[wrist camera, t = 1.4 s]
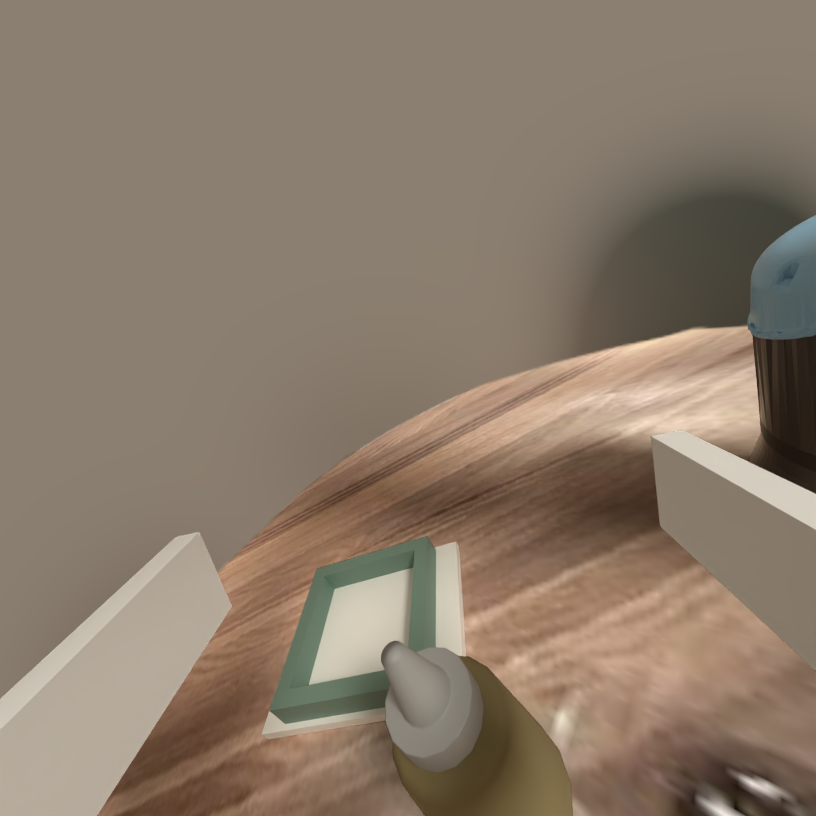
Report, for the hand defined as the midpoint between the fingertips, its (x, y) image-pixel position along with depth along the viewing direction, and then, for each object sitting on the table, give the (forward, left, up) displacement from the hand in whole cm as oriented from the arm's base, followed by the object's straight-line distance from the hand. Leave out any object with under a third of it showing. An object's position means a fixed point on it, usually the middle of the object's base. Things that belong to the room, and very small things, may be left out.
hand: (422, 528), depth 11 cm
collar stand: (+18, -16, -26) cm, 35 cm away
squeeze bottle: (+5, -2, -26) cm, 27 cm away
